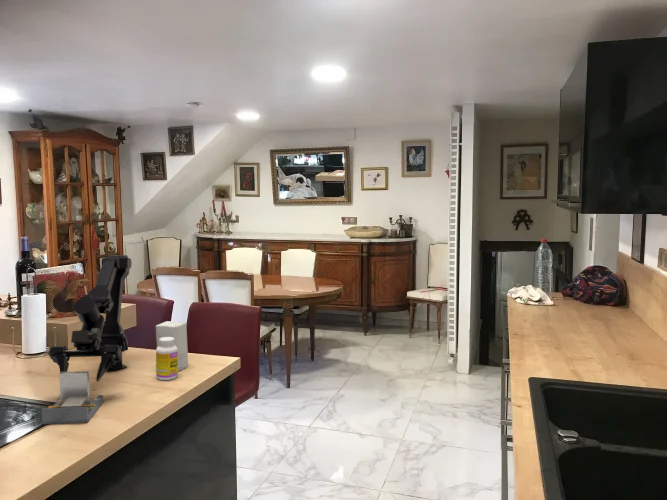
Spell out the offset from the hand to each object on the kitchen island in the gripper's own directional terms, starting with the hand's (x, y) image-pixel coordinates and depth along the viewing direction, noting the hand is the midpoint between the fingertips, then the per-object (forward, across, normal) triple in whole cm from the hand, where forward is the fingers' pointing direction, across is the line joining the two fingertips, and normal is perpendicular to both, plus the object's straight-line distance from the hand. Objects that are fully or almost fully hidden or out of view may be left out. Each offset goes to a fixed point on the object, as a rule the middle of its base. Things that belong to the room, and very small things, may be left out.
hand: (79, 381), depth 146 cm
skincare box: (-16, +20, +27) cm, 37 cm away
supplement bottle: (-10, +20, +20) cm, 30 cm away
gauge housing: (+9, 0, +1) cm, 9 cm away
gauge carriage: (+8, 0, 0) cm, 8 cm away
